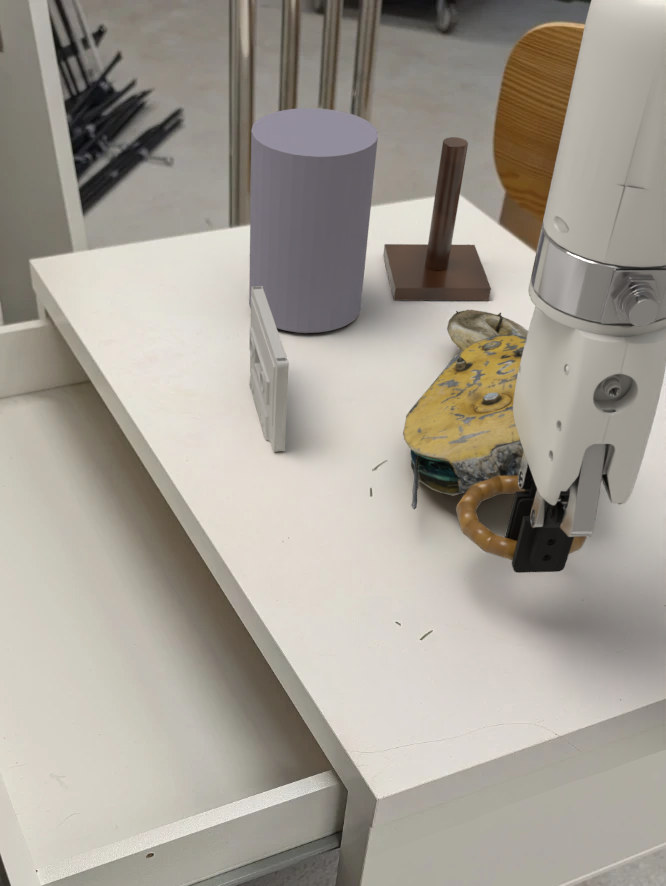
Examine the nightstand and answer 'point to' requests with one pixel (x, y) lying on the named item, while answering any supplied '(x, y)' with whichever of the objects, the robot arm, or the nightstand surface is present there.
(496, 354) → the pulley block
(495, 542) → the ring
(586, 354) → the robot arm
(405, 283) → the peg stand
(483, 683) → the nightstand surface
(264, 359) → the cassette
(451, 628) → the nightstand surface
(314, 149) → the container
